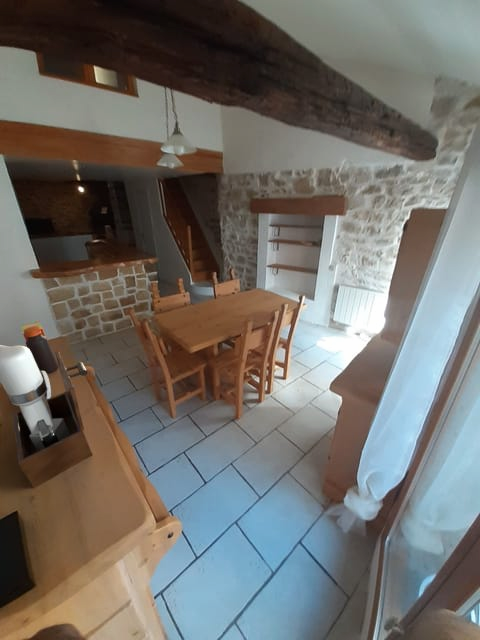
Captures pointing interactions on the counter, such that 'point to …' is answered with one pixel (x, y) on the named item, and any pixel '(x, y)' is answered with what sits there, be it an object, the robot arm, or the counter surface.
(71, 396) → the lid
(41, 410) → the robot arm
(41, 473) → the chest
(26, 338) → the baking soda box
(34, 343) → the bottle
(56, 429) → the product box
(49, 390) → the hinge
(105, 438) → the counter surface
